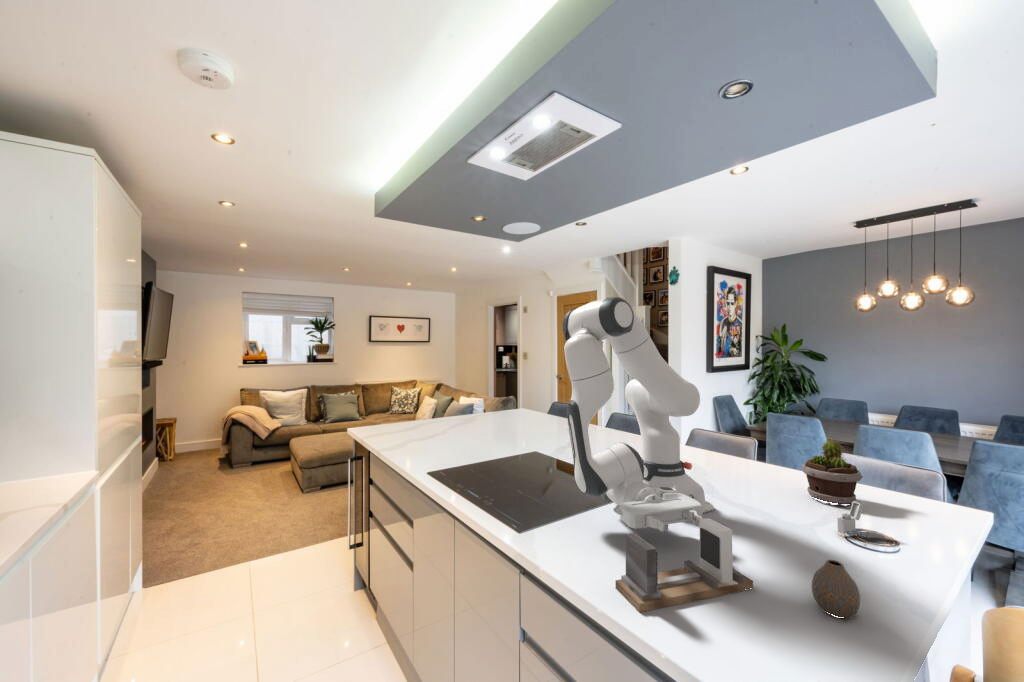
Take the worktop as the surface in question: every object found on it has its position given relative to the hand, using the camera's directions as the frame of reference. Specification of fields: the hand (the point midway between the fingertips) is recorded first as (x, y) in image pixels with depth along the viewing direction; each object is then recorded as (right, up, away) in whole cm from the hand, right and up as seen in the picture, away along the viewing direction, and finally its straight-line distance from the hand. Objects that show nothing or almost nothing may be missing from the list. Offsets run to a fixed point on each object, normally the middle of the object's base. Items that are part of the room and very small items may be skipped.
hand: (683, 524), depth 92 cm
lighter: (+49, -9, +14) cm, 52 cm away
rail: (-4, -8, -11) cm, 14 cm away
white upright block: (+3, -6, -8) cm, 11 cm away
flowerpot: (+63, -10, +38) cm, 74 cm away
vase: (+20, -8, -18) cm, 28 cm away
